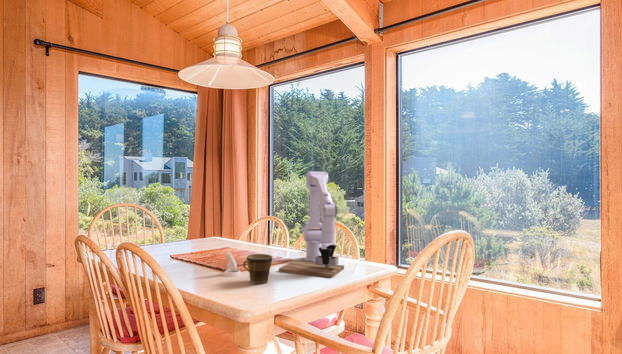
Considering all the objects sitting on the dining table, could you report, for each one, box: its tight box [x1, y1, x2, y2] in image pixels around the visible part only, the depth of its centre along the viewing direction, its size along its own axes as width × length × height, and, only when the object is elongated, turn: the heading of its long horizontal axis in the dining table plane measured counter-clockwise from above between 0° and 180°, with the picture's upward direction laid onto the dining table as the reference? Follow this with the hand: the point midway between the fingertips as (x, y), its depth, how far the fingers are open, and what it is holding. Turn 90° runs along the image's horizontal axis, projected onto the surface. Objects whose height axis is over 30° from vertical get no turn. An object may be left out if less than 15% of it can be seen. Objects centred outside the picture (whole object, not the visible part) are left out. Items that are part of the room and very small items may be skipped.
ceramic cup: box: [243, 253, 273, 285], centre depth 155 cm, size 13×10×10 cm
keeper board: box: [278, 260, 345, 279], centre depth 178 cm, size 18×24×6 cm
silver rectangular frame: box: [315, 255, 339, 266], centre depth 176 cm, size 6×9×3 cm, turn 74°
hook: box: [223, 251, 243, 278], centre depth 166 cm, size 8×12×7 cm
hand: (327, 262), depth 176 cm, fingers closed on silver rectangular frame, 6 cm apart
